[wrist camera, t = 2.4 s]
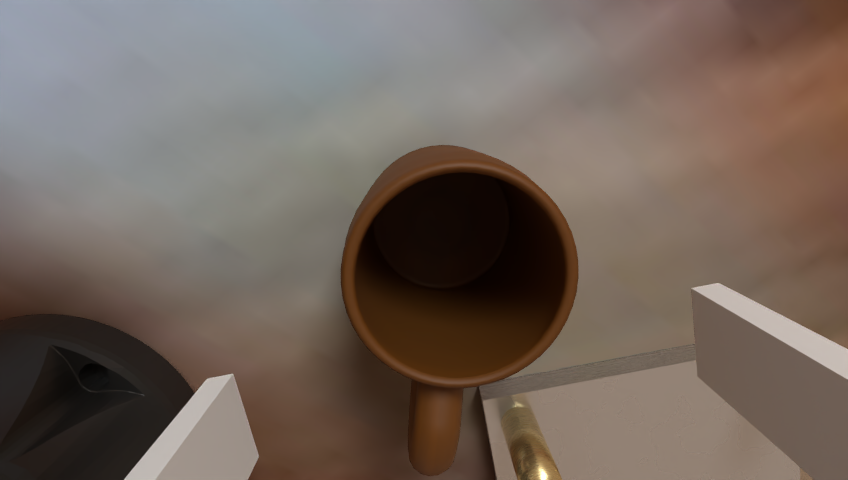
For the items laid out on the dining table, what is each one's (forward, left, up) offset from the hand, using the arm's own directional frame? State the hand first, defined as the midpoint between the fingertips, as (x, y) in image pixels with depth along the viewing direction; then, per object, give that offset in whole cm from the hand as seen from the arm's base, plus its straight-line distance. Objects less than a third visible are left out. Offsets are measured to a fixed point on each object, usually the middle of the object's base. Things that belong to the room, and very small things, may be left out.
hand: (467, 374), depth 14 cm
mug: (0, 0, -11) cm, 11 cm away
